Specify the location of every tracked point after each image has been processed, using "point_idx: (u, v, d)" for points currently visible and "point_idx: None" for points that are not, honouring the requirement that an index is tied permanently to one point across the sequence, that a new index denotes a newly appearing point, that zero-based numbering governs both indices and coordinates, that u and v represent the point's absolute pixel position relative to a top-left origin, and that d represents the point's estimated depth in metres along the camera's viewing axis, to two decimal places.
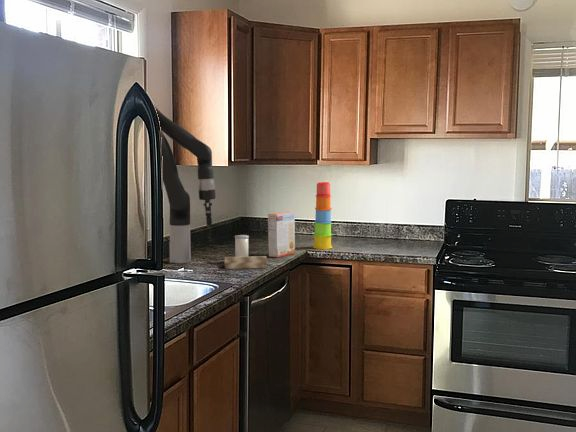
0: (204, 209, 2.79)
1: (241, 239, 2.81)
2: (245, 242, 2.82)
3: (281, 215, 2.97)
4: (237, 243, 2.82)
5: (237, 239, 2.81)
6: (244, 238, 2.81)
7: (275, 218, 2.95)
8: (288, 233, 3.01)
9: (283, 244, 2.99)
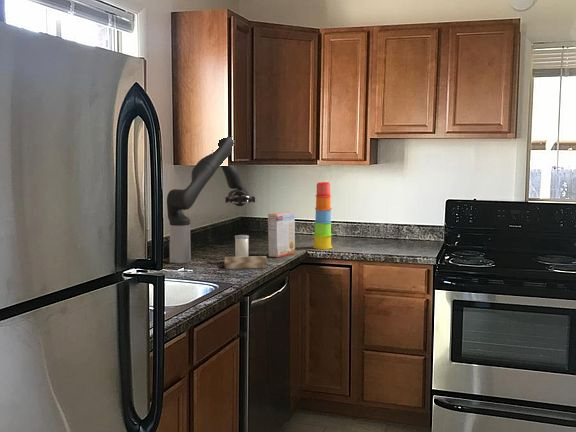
0: (247, 195, 3.00)
1: (241, 239, 2.81)
2: (245, 242, 2.82)
3: (281, 215, 2.97)
4: (237, 243, 2.82)
5: (237, 239, 2.81)
6: (244, 238, 2.81)
7: (275, 218, 2.95)
8: (288, 233, 3.01)
9: (283, 244, 2.99)
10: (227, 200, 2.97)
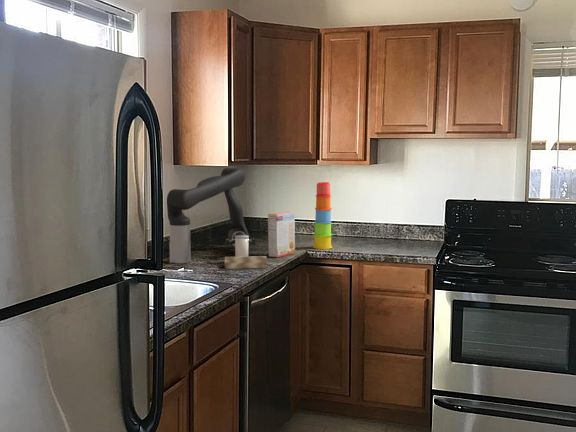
0: None
1: (241, 239, 2.81)
2: (245, 242, 2.82)
3: (281, 215, 2.97)
4: (237, 243, 2.82)
5: (237, 239, 2.81)
6: (244, 238, 2.81)
7: (275, 218, 2.95)
8: (288, 233, 3.01)
9: (283, 244, 2.99)
10: (227, 243, 2.96)
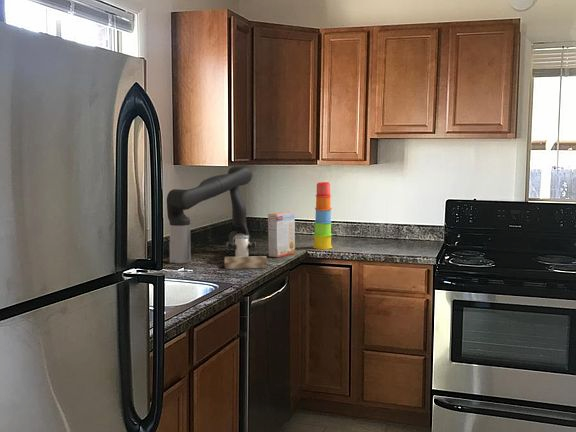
0: None
1: (241, 239, 2.81)
2: (245, 242, 2.82)
3: (281, 215, 2.97)
4: (237, 243, 2.82)
5: (237, 239, 2.81)
6: (244, 238, 2.81)
7: (275, 218, 2.95)
8: (288, 233, 3.01)
9: (283, 244, 2.99)
10: (230, 246, 2.85)
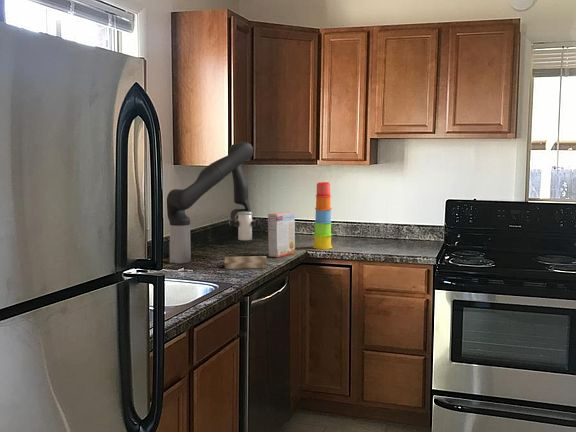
0: None
1: (244, 215, 2.70)
2: (249, 219, 2.71)
3: (281, 215, 2.97)
4: (240, 220, 2.70)
5: (240, 215, 2.70)
6: (247, 214, 2.70)
7: (275, 218, 2.95)
8: (288, 233, 3.01)
9: (283, 244, 2.99)
10: (233, 223, 2.74)
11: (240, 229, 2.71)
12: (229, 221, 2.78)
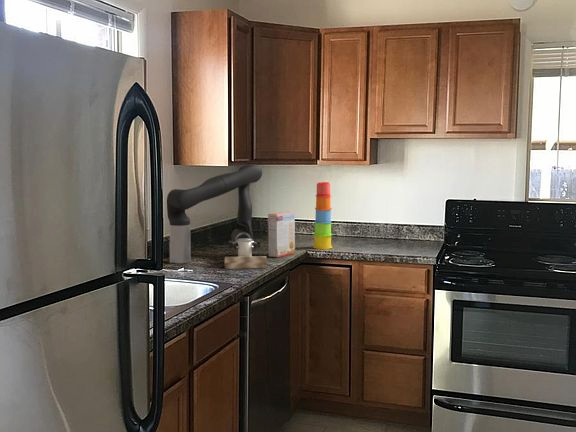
0: (252, 240, 2.78)
1: (244, 242, 2.70)
2: (249, 246, 2.71)
3: (281, 215, 2.97)
4: (240, 247, 2.71)
5: (240, 242, 2.70)
6: (247, 241, 2.70)
7: (275, 218, 2.95)
8: (288, 233, 3.01)
9: (283, 244, 2.99)
10: (231, 245, 2.74)
11: (240, 256, 2.71)
12: None
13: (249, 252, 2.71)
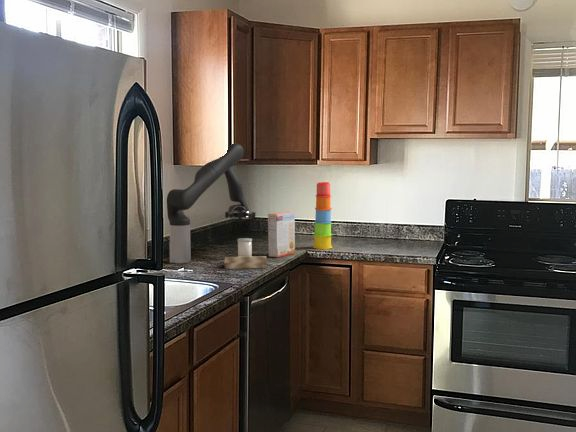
0: None
1: (244, 242, 2.70)
2: (249, 246, 2.71)
3: (281, 215, 2.97)
4: (240, 247, 2.71)
5: (240, 242, 2.70)
6: (247, 241, 2.70)
7: (275, 218, 2.95)
8: (288, 233, 3.01)
9: (283, 244, 2.99)
10: (227, 215, 2.91)
11: (240, 256, 2.71)
12: None
13: (249, 252, 2.71)
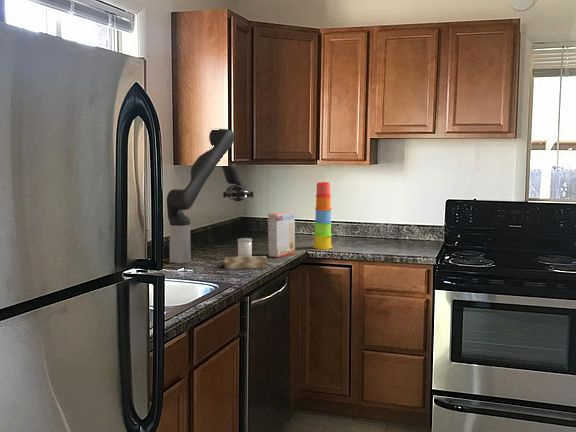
0: (245, 190, 2.97)
1: (244, 242, 2.70)
2: (249, 246, 2.71)
3: (281, 215, 2.97)
4: (240, 247, 2.71)
5: (240, 242, 2.70)
6: (247, 241, 2.70)
7: (275, 218, 2.95)
8: (288, 233, 3.01)
9: (283, 244, 2.99)
10: (225, 195, 2.93)
11: (240, 256, 2.71)
12: None
13: (249, 252, 2.71)
